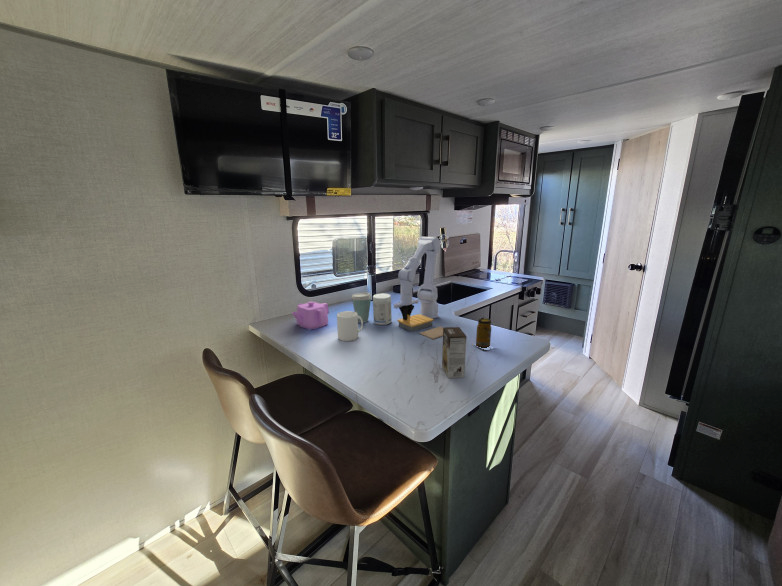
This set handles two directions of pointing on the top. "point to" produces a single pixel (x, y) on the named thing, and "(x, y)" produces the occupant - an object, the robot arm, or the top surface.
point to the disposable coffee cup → (362, 305)
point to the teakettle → (312, 315)
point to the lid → (415, 320)
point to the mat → (433, 333)
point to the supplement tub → (382, 309)
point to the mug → (348, 325)
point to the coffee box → (454, 352)
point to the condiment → (483, 333)
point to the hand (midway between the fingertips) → (406, 319)
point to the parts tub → (415, 326)
